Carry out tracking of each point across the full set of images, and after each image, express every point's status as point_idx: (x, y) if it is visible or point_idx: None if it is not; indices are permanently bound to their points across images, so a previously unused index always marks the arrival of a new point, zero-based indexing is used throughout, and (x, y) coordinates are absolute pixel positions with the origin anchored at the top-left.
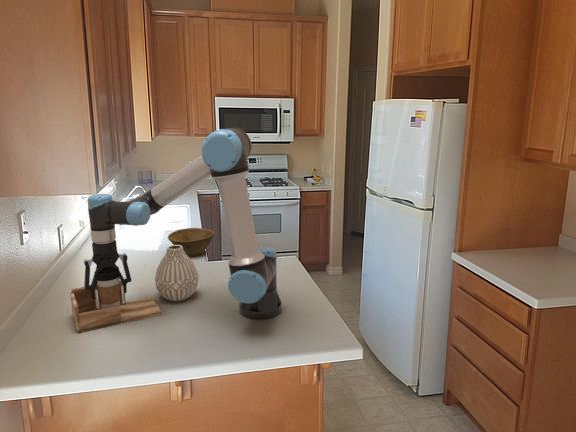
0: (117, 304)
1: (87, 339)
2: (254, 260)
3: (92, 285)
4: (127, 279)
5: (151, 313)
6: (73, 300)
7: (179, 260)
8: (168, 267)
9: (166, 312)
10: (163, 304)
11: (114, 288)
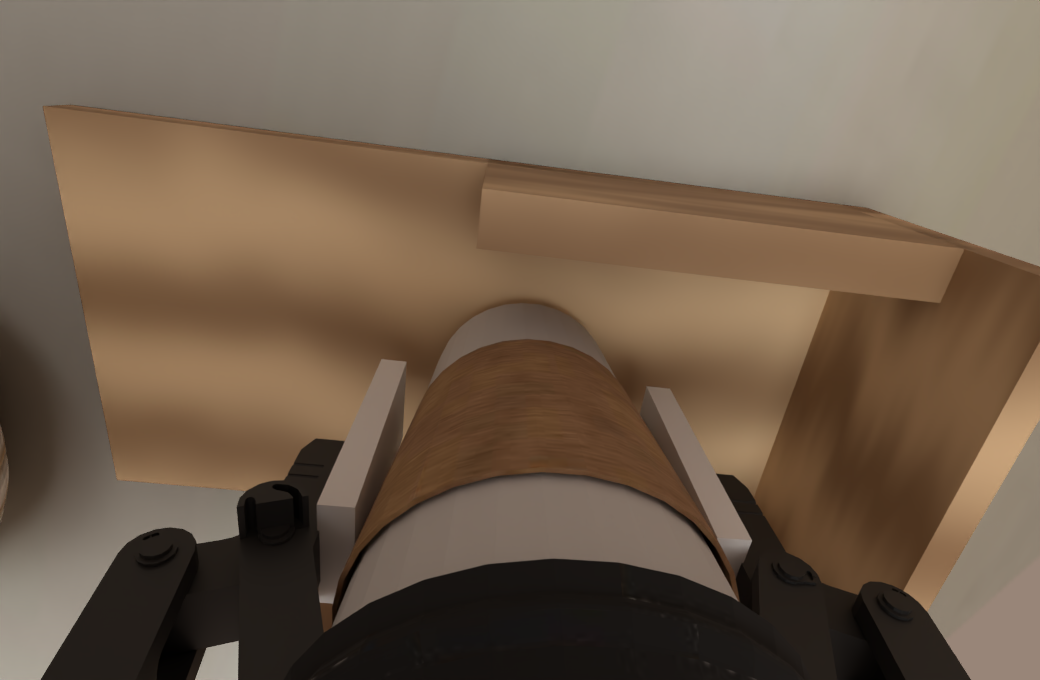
0: (468, 344)
1: (867, 17)
2: None
3: (827, 631)
4: (186, 587)
5: (161, 126)
6: (974, 512)
7: None
8: None
9: (15, 127)
10: (33, 325)
11: (486, 442)
